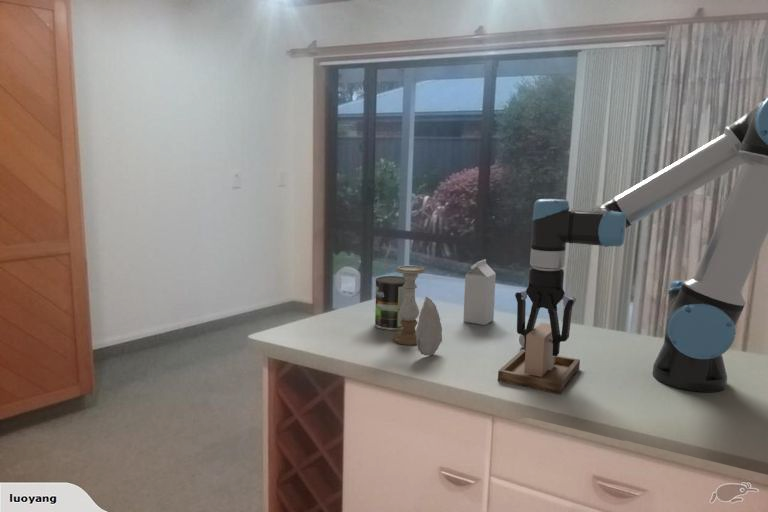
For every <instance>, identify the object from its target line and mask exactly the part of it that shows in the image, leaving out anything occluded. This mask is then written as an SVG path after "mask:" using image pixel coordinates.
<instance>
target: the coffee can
mask: <svg viewBox="0 0 768 512" xmlns="http://www.w3.org/2000/svg"><path fill="white" fill-rule="evenodd" d="M404 284H405V279H404V278H403V276H398V275H387V276H386V275H384V276H380V277H379V276H378V277H376V278H375V311H374V312H375V313H374V315H375V317H374V326H375V327H376V328H378V329H380V330H386V331H399V330H403V327H402V324H401V323H400V321H401V320H402V318H401V316H400V313H399V311H400V308H401V305H402V303H403V301H404V296H405V288H403V285H404Z"/></svg>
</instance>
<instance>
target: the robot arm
mask: <svg viewBox="0 0 768 512" xmlns="http://www.w3.org/2000/svg"><path fill="white" fill-rule="evenodd" d="M739 167H740V169H739V172H738V175H737V176H736V179H735V181H734V184H733V185H732V189H731V190H730V193H729V195H728V197H727V200H726V202H725V205H724V207H723V210H722V212H721V214H720V216H719V219H718V222H717V224H716V226H715V228H714V231H713V232H712V236H711V238H710V240H709V242H708V245H707V247H706V248H705V252H704V254H703V255H702V259H701V261H700V263H699V266H698V268H697V271H696V273H695V275H694V276H693V277H691V278H688V279H686V280H681V279H680V280H679V279H678V280H677V279H676V280H673V281H672V282H671V283H670V284H669V290H668V291H667V292H668V293H667V294H668V299H667V309H666V320H665V330H664V340H663V345H662V346H661V348H660V350H659V352H658V355H657V356H656V358H655V360H654V363H653V367H652V376H653V377H654V378H655V379H656V380H658V381H659V382H660V383H663V384H666V385H668V386H671V387H674V388H677V389H681V390H687V391H693V392H701V393H702V392H703V393H710V392H711V393H712V392H720V391H723V390H725V389H726V387H727V382H728V375H727V371H726V366H725V362H724V358H723V354H725V353H726V352H727V351H729V349H730V348H731V347H732V345H733V343H734V341H735V339H736V334H737V333H736V325H737V323H738V322H739V319H740V317H741V314H742V312H743V310H744V309H745V306H746V301H745V298H744V296H743V294H742V290H743V289H744V286H745V284H746V282H747V279H748V277H749V275H750V273H751V270H752V268H753V267H754V264H755V262H756V260H757V258H758V255H759V253H760V252H761V249H762V246H763V244H764V243H765V240H766V238H767V235H768V95H766V97H764V98H763V99H762V100H760V102H758V103H757V104H756V105H755V106H754V107H753V108H751V110H749V111H748V112H747V113H746V114H744V115H742V116H741V117H740V118H739V119H737V120H736V121H734V122H733V123H731V124H729V125H727V126H726V127H724V131H723V133H722V134H721V135H719V136H717V137H716V138H715V139H712V140H710V141H708V142H707V143H705V144H704V145H702V146H701V147H699V148H696V149H695V150H694V151H692V152H690V153H688V154H686V155H685V156H683V157H682V158H680V159H678V160H675V162H673V163H672V164H670V165H668V166H666V167H664V168H662V169H661V170H659V171H657V172H656V173H654V174H652V175H650V176H649V177H647V178H645V179H643V180H641V181H640V182H638V183H636V184H635V185H633V186H631V187H630V188H627V189H626V190H624V191H622V192H621V193H620V194H618V195H615V196H614V197H613V198H611V199H609V200H608V201H606V202H604V203H602V204H601V205H598V206H595V207H594V208H593V209H589V210H588V209H573V208H570V206H569V201H568V200H566V199H559V198H540V199H539V198H538V199H537V200H536V201H535V202H534V204H533V213H532V218H531V243H530V244H531V245H530V257H529V258H530V259H529V265H530V266H531V267H530V268H529V273H528V274H529V275H528V286H527V288H526V289H525V290H519V291H517V292H515V294H514V296H515V299H516V302H517V307H516V309H517V311H516V312H517V313H516V332H517V334H518V335H520V334H521V335H523V336H524V337H525V342H524V348H523V349H525V351H526V335H527V334H528V333H530V332H531V331H532V330H533V329H534V328H535V327H536V322H537V319H538V315H539V313H540V312H539V311H540V309H545V310H547V313H548V316H549V324H551V331H552V338H553V339H552V340H551V341H550V342H549V355H548V370H552V368H553V367H554V357H555V356H559V354H560V347H561V342H566V341H567V340H568V339H569V338H570V332H571V331H570V330H571V324H572V323H571V322H572V321H571V320H572V314H573V313H572V311H573V307H574V305H575V303H576V302H577V301H576V300H577V299H576V298H575V297H570V296H569V295H566V293H565V291H564V277H565V276H564V275H565V271H564V269H563V268H564V267H565V265H566V264H565V261H566V248H567V246H566V245H567V244H572V245H573V244H579V245H589V246H591V245H592V246H601V247H604V248H607V247H622V246H623V245H624V242H625V238H626V229H628V228H629V227H630V226H632V225H634V224H636V223H638V222H640V221H641V220H644V219H645V218H647V217H649V216H650V215H652V214H654V213H656V212H658V211H660V210H661V209H663V208H665V207H667V206H669V205H670V204H673V203H674V202H676V201H678V200H680V199H682V198H683V197H686V196H687V195H689V194H691V193H693V192H695V191H697V190H698V189H701V188H702V187H704V186H705V185H707V184H709V183H711V182H713V181H715V180H717V179H718V178H720V177H722V176H724V175H726V174H729V172H732V171H734V170H735V169H737V168H739ZM527 298H529V300H530V301H531V302H532V304H531V307H530V313H529V316H528V321H527V324H526V306H527V305H526V303H527V301H526V300H527ZM561 301H563V303H562V304H563V306H564V309H563V317H562V326H561V331H560V323H559V315H558V304H559V303H560V302H561Z"/></svg>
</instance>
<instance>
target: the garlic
mask: <svg viewBox="0 0 768 512" xmlns="http://www.w3.org/2000/svg"><path fill="white" fill-rule="evenodd" d="M518 341H519V344H520V346H521V347H522V348H523V349H524V342H525V337H524V336H523V335H521V334H519V336H518Z"/></svg>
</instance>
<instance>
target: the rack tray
mask: <svg viewBox="0 0 768 512" xmlns="http://www.w3.org/2000/svg"><path fill="white" fill-rule="evenodd" d="M580 361H581V360H580V359H578V358H573V357H567V356H564V355H563V356H562V355H557V356H556V362H555V363H554V367H553V368H552V370H548V371H547V372H546V373H545V374H544V375H543V376H542V377H539V376H534V375H529V374H524V368H525V349H524V348H523V349H521V350H520V351H519V352H518V353H516V354H515V355H514V356H513V357H512V358H511V359H510V360H508V361H507V362H506V364H505V365H503V366H502V367H500V369H499V370H498V371H497V381H498V382H500V383H501V382H502V383H507V384H511V385H515V386H519V387H520V386H521V387H524V388H529V389H534V390H539V391H544V392H548V393H552V394H558V395H562V393H563V392H564V390H565V389H566V387H567V386H568V385H569V383H571V381H572V380H573V378H574V377H575V375H576V374H577V373H578V372H579V370H580Z"/></svg>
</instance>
